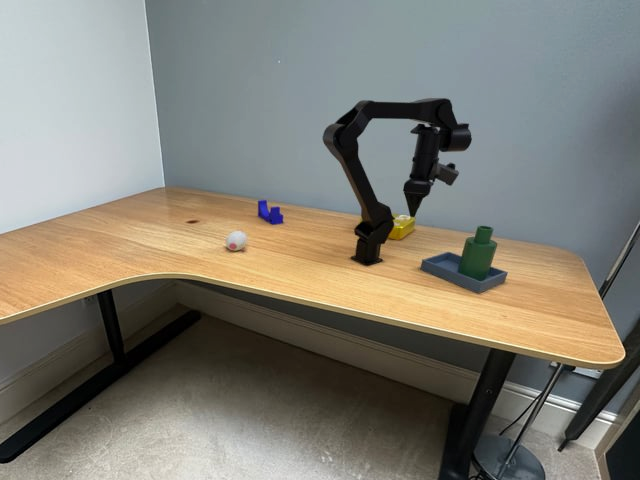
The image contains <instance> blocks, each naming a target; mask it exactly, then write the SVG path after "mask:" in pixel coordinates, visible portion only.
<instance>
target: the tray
mask: <svg viewBox="0 0 640 480" xmlns="http://www.w3.org/2000/svg"><path fill="white" fill-rule="evenodd" d="M461 256H462V255H460V254H457V253H454V252H451V251H446V252H441V253H440V254H437V255H434V256H429V257H426V258H424V259H422V260H421V263H420V268H419V270H420V271H422V272H426V273H428V274H430V275H432V276H435V277H437V278H440V279H443V280H445V281H447V282H448V283H449V282H450V283H452V284H453V285H457V286H459V287H462V288H464V289H466V290H469V291H471V292H474V293H476V294H481V293H483V292H485V291H488V290H490V289H493V288H494V287H497V286H499V285H501V284H504V283H505V282H506V280H507V277H508V273H509V272H508V271H505V270H502V269H500V268H497V267H494V266H491V267H490V270H489V273H488V276H487V279H486V280H484V281H481V282H480V281H478V280H475V279H473V278H470V277H467V276H465V275H462V274H460V273H457V270H458V267H459V263H460V260H461Z"/></svg>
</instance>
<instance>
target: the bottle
mask: <svg viewBox="0 0 640 480" xmlns="http://www.w3.org/2000/svg"><path fill="white" fill-rule="evenodd" d="M493 233H494V227H492V226H489V225H478V226H477V227H476V230H475V234H474V236H471V237H470V236H469V237H467V238H465V242H464V245H463V249H462V252H461V255H460V256H461V260H460V263H459V267H458V270H457V273H460V274H462V275H465V276H467V277H470V278H473V279H475V280H478V281H480V282H481V281H484V280H486V279H487V276H488V273H489V270H490V267H492V264H493V260H494V258H495V254H496V251H497V248H498V242H496V241H495V240H493V239H492V237H493Z"/></svg>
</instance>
